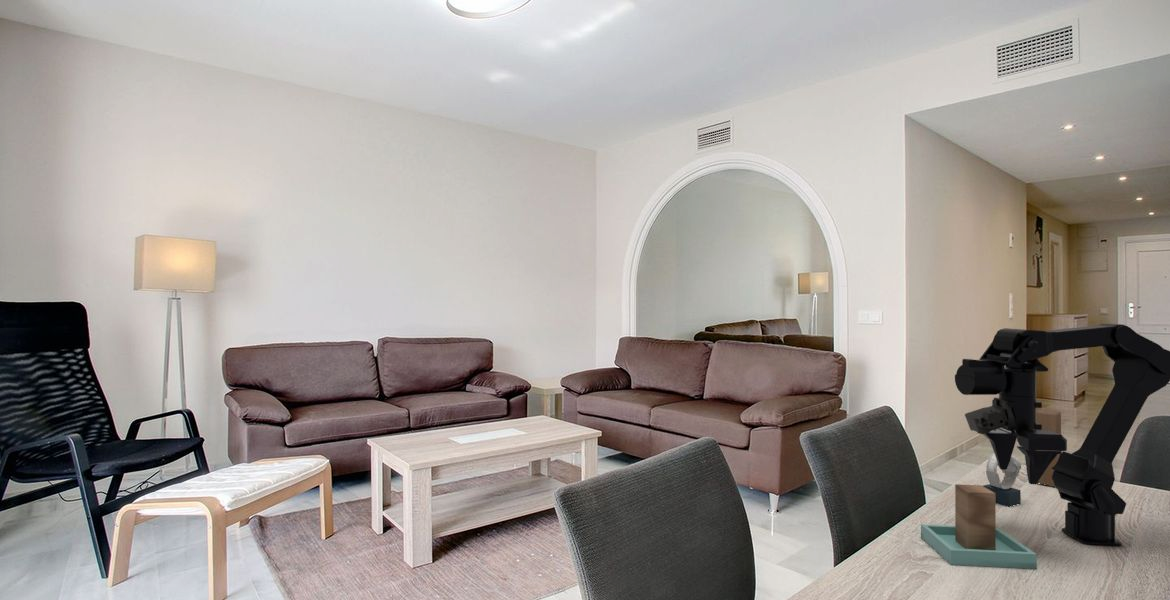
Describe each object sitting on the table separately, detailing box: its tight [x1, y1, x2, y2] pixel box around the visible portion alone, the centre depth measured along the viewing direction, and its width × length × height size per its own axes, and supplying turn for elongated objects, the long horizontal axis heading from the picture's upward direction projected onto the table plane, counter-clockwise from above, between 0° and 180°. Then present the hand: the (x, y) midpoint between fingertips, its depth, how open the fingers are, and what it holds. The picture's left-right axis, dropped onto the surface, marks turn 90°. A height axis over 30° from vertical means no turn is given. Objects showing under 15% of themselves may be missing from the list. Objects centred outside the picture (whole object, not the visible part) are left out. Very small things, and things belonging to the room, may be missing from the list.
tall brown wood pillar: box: [954, 484, 997, 550], centre depth 105 cm, size 4×4×10 cm
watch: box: [982, 452, 1022, 508], centre depth 131 cm, size 6×8×11 cm
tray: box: [920, 523, 1038, 570], centre depth 105 cm, size 14×12×2 cm
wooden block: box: [1036, 408, 1062, 488], centre depth 142 cm, size 9×4×18 cm, turn 39°
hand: (1017, 476), depth 111 cm, fingers open, 9 cm apart
